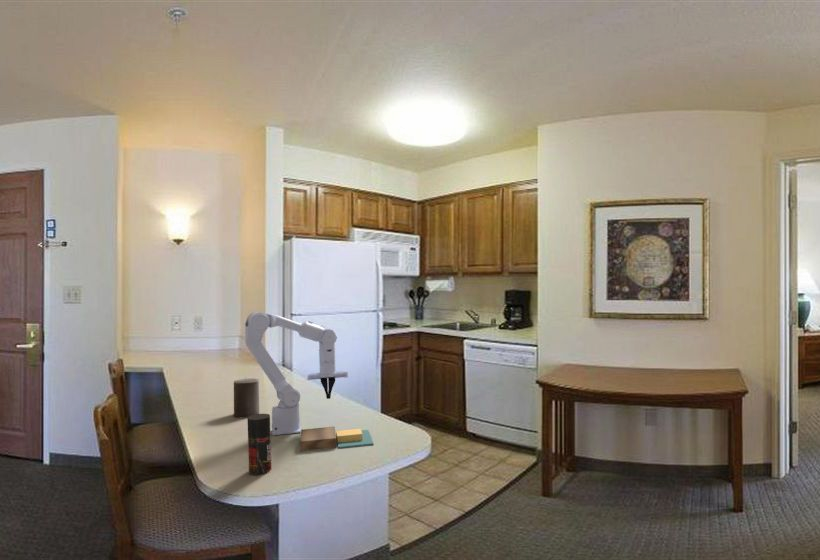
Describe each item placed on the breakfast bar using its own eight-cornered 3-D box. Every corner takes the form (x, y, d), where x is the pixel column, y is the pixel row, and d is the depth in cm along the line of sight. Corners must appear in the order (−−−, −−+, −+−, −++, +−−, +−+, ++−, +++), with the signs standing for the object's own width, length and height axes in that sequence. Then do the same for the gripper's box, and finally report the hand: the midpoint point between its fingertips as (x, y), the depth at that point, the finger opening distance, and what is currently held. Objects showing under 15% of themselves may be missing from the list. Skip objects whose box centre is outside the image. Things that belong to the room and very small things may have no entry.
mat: (338, 448, 142) (338, 446, 142) (336, 434, 155) (336, 432, 155) (373, 444, 144) (373, 443, 144) (368, 431, 158) (368, 429, 158)
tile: (337, 442, 146) (337, 436, 146) (336, 436, 151) (336, 430, 151) (362, 440, 147) (362, 433, 147) (360, 434, 153) (360, 428, 153)
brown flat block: (300, 451, 140) (300, 441, 140) (301, 438, 152) (301, 429, 152) (336, 447, 143) (336, 438, 143) (334, 435, 154) (334, 426, 154)
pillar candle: (239, 419, 177) (238, 380, 177) (230, 414, 184) (229, 377, 184) (263, 414, 183) (263, 377, 183) (253, 409, 191) (253, 373, 191)
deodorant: (252, 467, 129) (250, 414, 129) (273, 465, 130) (271, 413, 130) (246, 475, 123) (244, 420, 123) (268, 474, 124) (267, 419, 124)
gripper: (307, 364, 163) (308, 402, 162) (347, 361, 166) (348, 399, 165) (307, 361, 169) (308, 397, 169) (346, 358, 172) (347, 394, 172)
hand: (328, 398), depth 168 cm, fingers closed
